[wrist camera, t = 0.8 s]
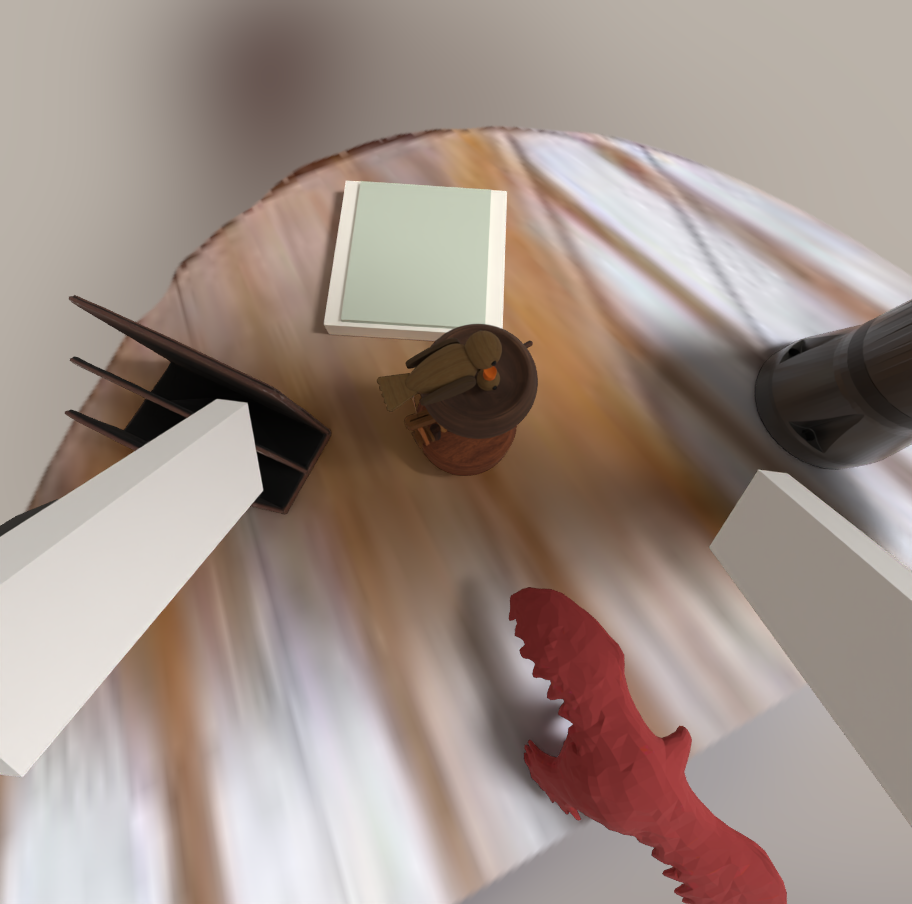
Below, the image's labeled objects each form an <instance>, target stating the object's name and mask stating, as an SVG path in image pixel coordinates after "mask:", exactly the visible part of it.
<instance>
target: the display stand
mask: <svg viewBox="0 0 912 904" xmlns="http://www.w3.org/2000/svg"><path fill="white" fill-rule="evenodd" d="M506 204H507V191H495V190H486V189H471V188H456V187H441V186H426V185H411V184H396V183H380V182H365V181H361V182H359V181H346V184H345V191H344V197H343V203H342V210H341V216H340V223H339V229H338V235H337V242H336V248H335V255H334V261H333V268H332V274H331V280H330V287H329V293H328V300H327V306H326V313H325V319H324V326H325V328H326V330H327V332H328V333H329V334H331V335H347V336H363V337H379V338H395V339H411V340H426V341H436V340H437V339H438V338H440V337H441V336H442V335H444V334H445V333H447V332H448V331H450V330H452V329H454V328H457V327H460V326H463V325H468V324H487V325H492V326H496V327H499V328H502V327H503V296H504V266H505V235H506Z"/></svg>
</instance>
